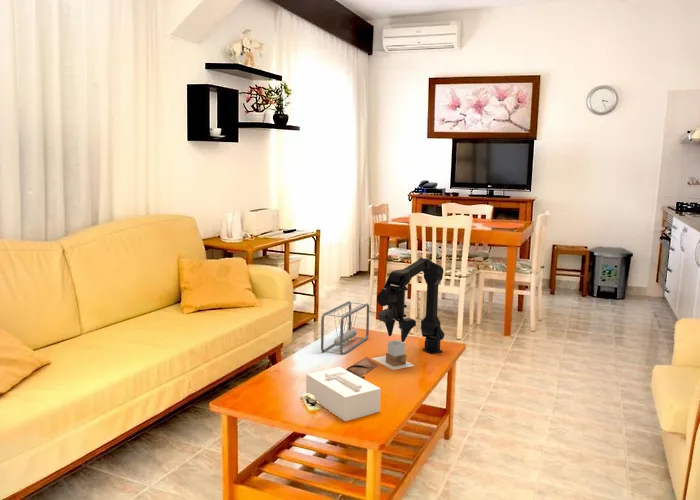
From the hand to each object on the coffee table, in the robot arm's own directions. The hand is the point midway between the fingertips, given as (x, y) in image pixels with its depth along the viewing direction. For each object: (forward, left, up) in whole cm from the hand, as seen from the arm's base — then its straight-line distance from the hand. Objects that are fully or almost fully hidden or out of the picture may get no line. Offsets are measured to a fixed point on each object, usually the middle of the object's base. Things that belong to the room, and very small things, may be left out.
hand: (396, 338), depth 251 cm
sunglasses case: (+15, -1, -12) cm, 19 cm away
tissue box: (+39, +23, -12) cm, 47 cm away
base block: (0, 0, -11) cm, 11 cm away
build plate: (0, -2, -12) cm, 12 cm away
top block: (0, 0, -7) cm, 7 cm away
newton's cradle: (+5, -33, -12) cm, 35 cm away
